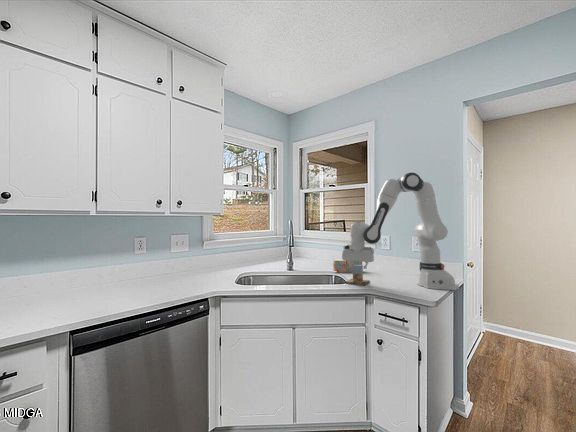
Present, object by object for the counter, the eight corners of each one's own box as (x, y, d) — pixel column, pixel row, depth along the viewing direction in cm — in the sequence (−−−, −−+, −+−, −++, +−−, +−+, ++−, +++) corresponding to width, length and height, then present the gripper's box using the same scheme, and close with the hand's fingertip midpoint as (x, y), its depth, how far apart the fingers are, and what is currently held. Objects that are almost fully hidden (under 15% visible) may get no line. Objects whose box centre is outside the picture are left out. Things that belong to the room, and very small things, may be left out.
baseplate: (369, 282, 193) (369, 280, 193) (364, 285, 184) (364, 283, 184) (351, 280, 199) (351, 278, 199) (345, 283, 190) (345, 281, 190)
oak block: (362, 280, 192) (362, 272, 192) (360, 282, 188) (360, 274, 188) (355, 279, 195) (355, 272, 195) (352, 281, 190) (352, 273, 191)
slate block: (362, 272, 192) (362, 265, 192) (360, 274, 188) (360, 266, 188) (355, 272, 195) (355, 264, 195) (352, 273, 190) (352, 265, 190)
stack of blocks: (334, 272, 228) (334, 256, 228) (333, 271, 235) (333, 255, 235) (362, 272, 229) (362, 256, 229) (360, 270, 235) (360, 255, 235)
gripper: (375, 246, 189) (375, 268, 189) (344, 245, 199) (344, 266, 199) (372, 247, 183) (372, 270, 183) (341, 246, 194) (341, 267, 194)
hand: (357, 268), depth 191 cm, fingers open, 8 cm apart
